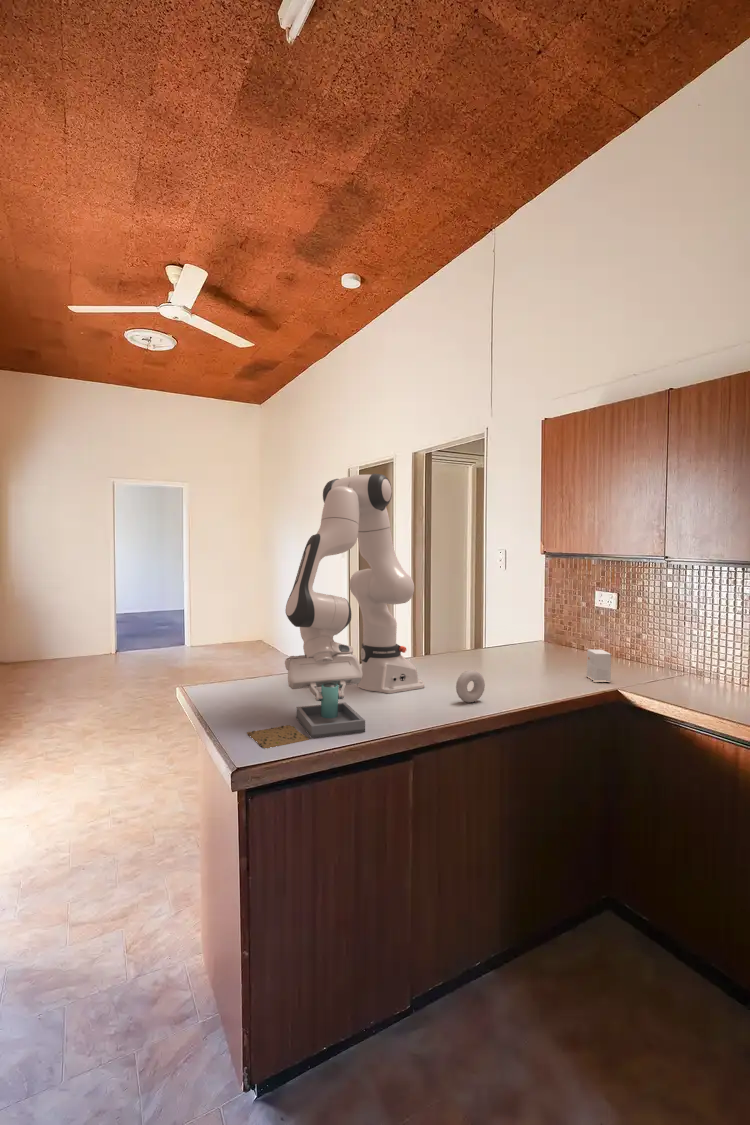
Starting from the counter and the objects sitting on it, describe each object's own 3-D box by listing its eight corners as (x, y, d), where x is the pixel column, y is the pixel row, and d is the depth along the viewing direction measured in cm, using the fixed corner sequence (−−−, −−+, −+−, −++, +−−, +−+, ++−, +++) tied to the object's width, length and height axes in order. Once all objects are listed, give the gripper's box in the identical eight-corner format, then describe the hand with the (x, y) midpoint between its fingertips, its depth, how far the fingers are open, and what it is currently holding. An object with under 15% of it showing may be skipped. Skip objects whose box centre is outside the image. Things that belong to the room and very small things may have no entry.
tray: (345, 712, 153) (345, 702, 153) (365, 732, 138) (365, 720, 138) (296, 717, 148) (296, 706, 148) (311, 738, 133) (311, 726, 133)
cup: (334, 712, 146) (335, 682, 145) (340, 717, 141) (340, 686, 141) (318, 713, 144) (319, 683, 144) (323, 719, 140) (324, 688, 139)
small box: (610, 683, 192) (611, 654, 191) (594, 683, 192) (595, 653, 191) (601, 677, 200) (602, 649, 199) (586, 677, 200) (587, 649, 199)
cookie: (263, 751, 125) (263, 746, 125) (245, 734, 136) (245, 730, 135) (310, 741, 132) (310, 737, 132) (289, 726, 142) (289, 723, 142)
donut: (479, 698, 169) (480, 667, 169) (486, 702, 166) (487, 669, 166) (453, 702, 165) (454, 670, 164) (459, 705, 162) (460, 672, 161)
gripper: (285, 650, 145) (293, 696, 136) (357, 646, 152) (369, 690, 143) (281, 662, 149) (289, 708, 140) (352, 658, 156) (363, 701, 148)
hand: (330, 699), depth 142 cm, fingers closed on cup, 4 cm apart
